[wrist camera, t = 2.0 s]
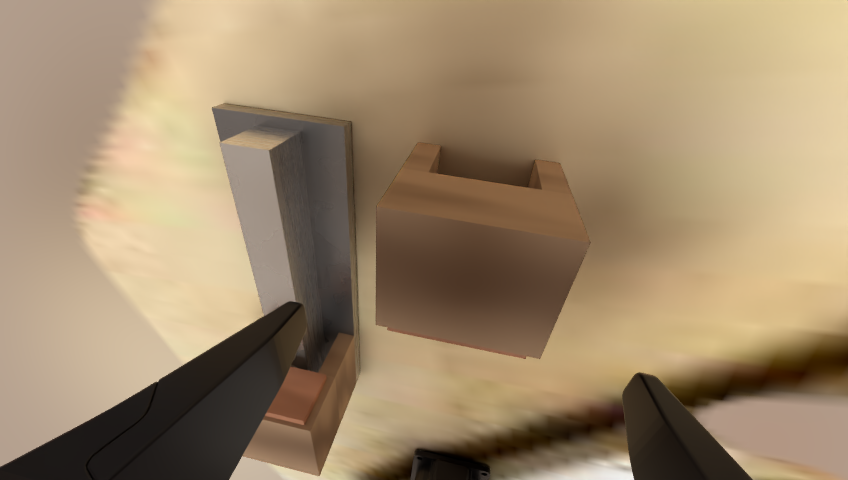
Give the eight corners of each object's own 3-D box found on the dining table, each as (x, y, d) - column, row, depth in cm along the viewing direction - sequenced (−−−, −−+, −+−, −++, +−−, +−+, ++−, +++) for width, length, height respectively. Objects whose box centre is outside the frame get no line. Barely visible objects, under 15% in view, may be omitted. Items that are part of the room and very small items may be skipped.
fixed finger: (356, 382, 24) (319, 476, 19) (277, 364, 25) (222, 450, 20) (353, 331, 21) (309, 427, 16) (264, 312, 22) (195, 398, 17)
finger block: (527, 265, 17) (536, 365, 12) (410, 244, 18) (375, 332, 13) (559, 163, 14) (590, 242, 9) (417, 142, 15) (376, 206, 10)
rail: (360, 373, 25) (343, 415, 22) (283, 355, 26) (258, 394, 23) (351, 121, 15) (318, 144, 12) (224, 103, 16) (167, 122, 13)
